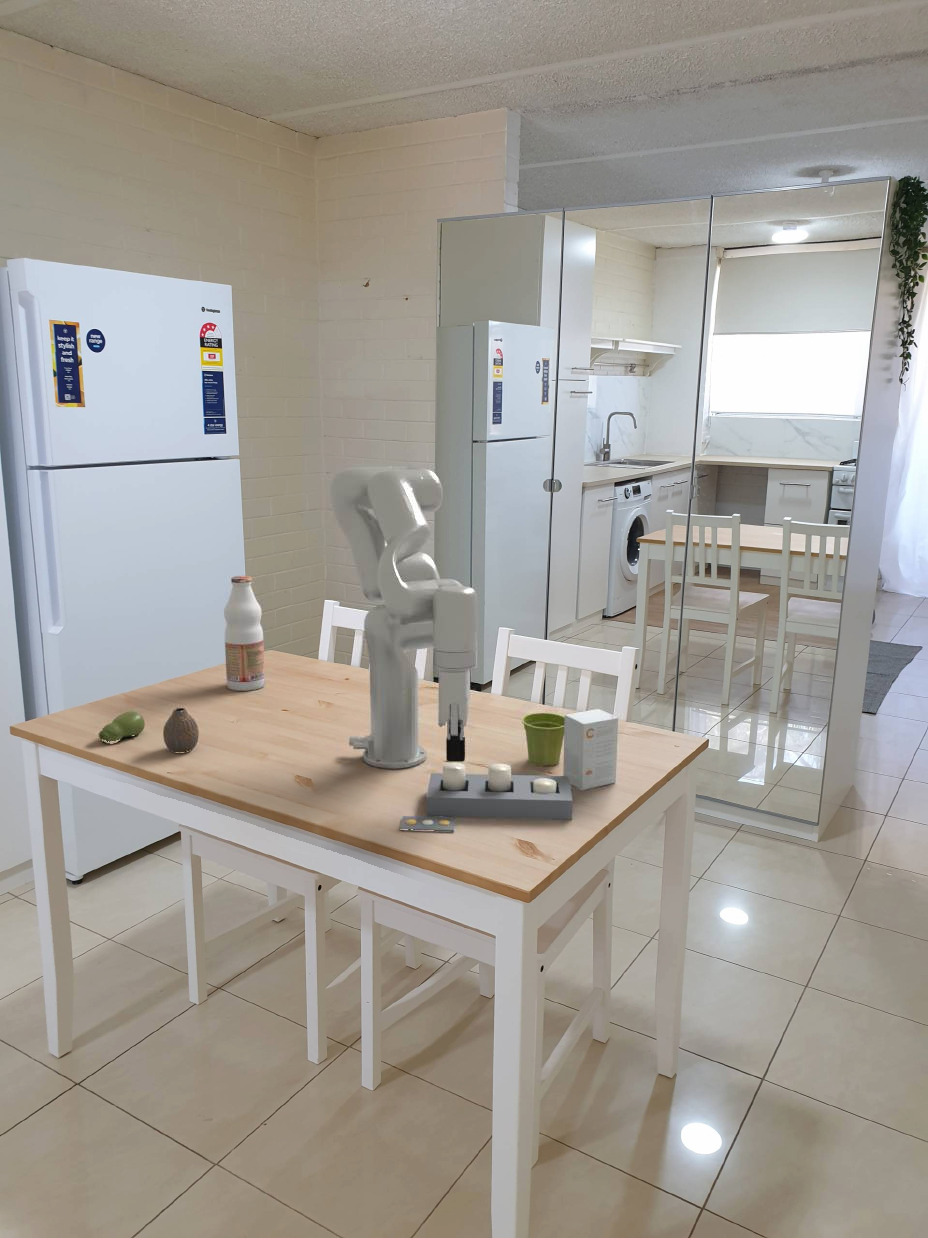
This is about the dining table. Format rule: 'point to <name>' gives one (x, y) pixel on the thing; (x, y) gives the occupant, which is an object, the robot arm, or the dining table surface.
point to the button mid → (499, 777)
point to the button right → (544, 786)
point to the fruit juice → (243, 638)
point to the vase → (180, 731)
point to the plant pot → (544, 737)
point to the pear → (123, 726)
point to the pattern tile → (428, 823)
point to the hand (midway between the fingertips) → (455, 759)
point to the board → (499, 799)
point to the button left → (454, 776)
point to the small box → (590, 748)
